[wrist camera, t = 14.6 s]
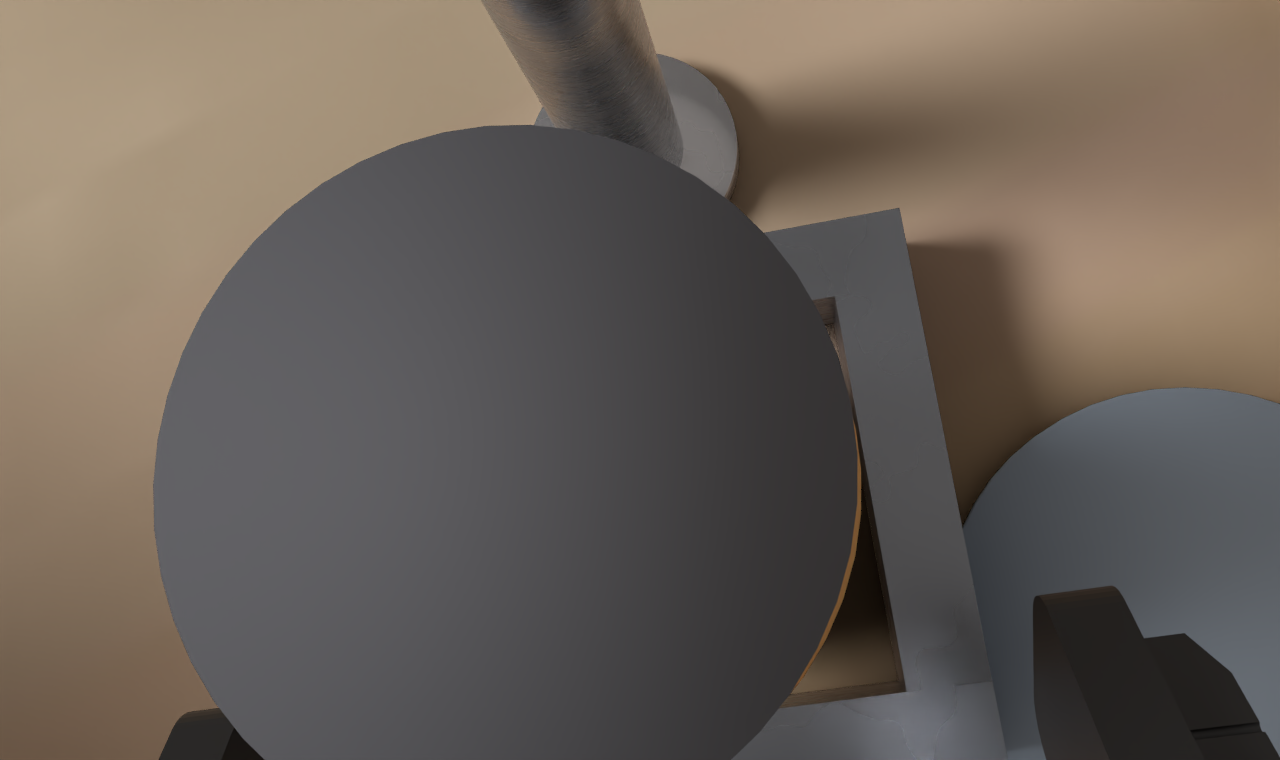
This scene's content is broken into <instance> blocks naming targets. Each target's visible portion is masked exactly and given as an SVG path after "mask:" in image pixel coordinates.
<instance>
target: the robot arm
mask: <svg viewBox="0 0 1280 760" xmlns="http://www.w3.org/2000/svg"><path fill="white" fill-rule="evenodd" d="M1033 672H1034V705H1035V713H1036V719H1037V725H1038V730H1039V734H1040V739H1041V743H1042V747H1043V750H1044V754H1045V757H1046V760H1280V757H1279V755H1278V753H1277V751H1276V750H1275V748H1274V746H1273V744H1272V742H1271V741H1270V739H1269V737H1268V735H1267V734H1266V732H1262V730H1261V727H1260V721H1259V720H1258V718H1257V716H1256V714H1255V713H1254V711H1253V709H1252V707H1251V706H1250V704H1249V702H1248V700H1247V699H1246V697H1245V695H1244V693H1243V692H1242V690H1241V688H1240V686H1239V685H1238V683H1237V681H1236V679H1235V678H1234V676H1233V674H1232V672H1230V671H1229V670H1228V669H1227V668H1226V667H1224V666H1223V665H1222V664H1221V663H1220V662H1219V661H1217V660H1216V659H1215V658H1214V657H1213V656H1211V655H1210V654H1209V653H1208V652H1207V651H1205V650H1204V649H1203V648H1202V647H1201V646H1199V645H1198V644H1197V643H1196V642H1195V641H1193V640H1192V639H1191V638H1190V637H1189V636H1187V635H1186V634H1185V633H1181V634H1173V635H1165V636H1158V637H1150V638H1144V637H1143V635H1142V633H1141V631H1140V629H1139V627H1138V625H1137V623H1136V621H1135V619H1134V617H1133V615H1132V613H1131V611H1130V609H1129V607H1128V605H1127V603H1126V601H1125V600H1124V598H1123V596H1122V594H1121V593H1120V591H1119V590H1118V589H1117V588H1116V587H1114V586H1104V587H1096V588H1089V589H1082V590H1074V591H1067V592H1059V593H1052V594H1044V595H1037V596H1035V598H1034V601H1033ZM159 760H264V759H263V758H262V757H261V756H260V755H259V754H258V753H257V752H256V751H255V750H254V749H253V748H252V747H251V746H250V745H249V744H248V743H247V742H246V741H245V740H244V739H243V738H242V737H241V735H240V734H239V733H238V732H237V730H236V729H235V728H234V726H233V725H232V724H231V723H230V721H229V720H228V719H227V717H226V716H225V715H224V714H223V712H222V711H221V710H220V708H215V709H208V710H201V711H193V712H188V713H186V714H184V715H183V716H182V717H181V718H179V720H178V721H177V722H176V724H175V726H174V727H173V729H172V731H171V734H170V736H169V738H168V740H167V742H166V745H165V747H164V749H163V751H162V754H161V756H160V758H159Z"/></svg>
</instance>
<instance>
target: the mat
mask: <svg viewBox="0 0 1280 760" xmlns="http://www.w3.org/2000/svg"><path fill="white" fill-rule="evenodd" d="M962 529H963V534H964V539H965V544H966V549H967V554H968V559H969V564H970V569H971V574H972V579H973V584H974V589H975V595H976V600H977V605H978V610H979V615H980V620H981V625H982V630H983V635H984V640H985V645H986V650H987V656H988V661H989V666H990V671H991V676H992V681H993V686H994V691H995V696H996V701H997V706H998V711H999V716H1000V722H1001V727H1002V732H1003V737H1004V742H1005V747H1006V752H1007V757H1008V760H1046V757H1045V754H1044V750H1043V747H1042V743H1041V739H1040V734H1039V730H1038V725H1037V719H1036V713H1035V705H1034V672H1033V601H1034V598H1035V596H1037V595H1044V594H1052V593H1059V592H1067V591H1074V590H1082V589H1089V588H1096V587H1104V586H1114V587H1116V588H1117V589H1118V590H1119V591H1120V593H1121V594H1122V596H1123V598H1124V600H1125V601H1126V603H1127V605H1128V607H1129V609H1130V611H1131V613H1132V615H1133V617H1134V619H1135V621H1136V623H1137V625H1138V627H1139V629H1140V631H1141V633H1142V635H1143V637H1144V638H1150V637H1158V636H1165V635H1173V634H1181V633H1185V634H1186V635H1187V636H1189V637H1190V638H1191V639H1192V640H1193V641H1195V642H1196V643H1197V644H1198V645H1199V646H1201V647H1202V648H1203V649H1204V650H1205V651H1207V652H1208V653H1209V654H1210V655H1211V656H1213V657H1214V658H1215V659H1216V660H1217V661H1219V662H1220V663H1221V664H1222V665H1223V666H1224V667H1226V668H1227V669H1228V670H1229V671H1230V672H1232V674H1233V676H1234V678H1235V679H1236V681H1237V683H1238V685H1239V686H1240V688H1241V690H1242V692H1243V693H1244V695H1245V697H1246V699H1247V700H1248V702H1249V704H1250V706H1251V707H1252V709H1253V711H1254V713H1255V714H1256V716H1257V718H1258V720H1259V721H1260V727H1261V730H1262V732H1266V734H1267V735H1268V737H1269V739H1270V741H1271V742H1272V744H1273V746H1274V748H1275V750H1276V751H1277V753H1278V755H1279V757H1280V404H1278V403H1275V402H1272V401H1268V400H1265V399H1262V398H1259V397H1255V396H1252V395H1247V394H1241V393H1236V392H1230V391H1225V390H1219V389H1204V388H1186V387H1183V388H1168V389H1152V390H1147V391H1142V392H1136V393H1131V394H1126V395H1121V396H1117V397H1114V398H1111V399H1108V400H1105V401H1102V402H1099V403H1096V404H1093V405H1090V406H1088V407H1086V408H1084V409H1082V410H1079V411H1077V412H1075V413H1073V414H1071V415H1069V416H1067V417H1065V418H1063V419H1061V420H1059V421H1058V422H1056V423H1055V424H1053V425H1052V426H1050V427H1049V428H1047V429H1046V430H1044V431H1042V432H1041V433H1039V434H1038V435H1036V436H1035V437H1033V438H1032V439H1031V440H1030V441H1028V442H1027V443H1026V444H1025V445H1024V446H1023V447H1021V448H1020V449H1019V450H1018V451H1017V452H1016V453H1014V454H1013V455H1012V456H1011V457H1010V458H1009V459H1008V460H1007V461H1006V462H1005V463H1004V464H1003V466H1002V467H1001V468H1000V469H999V470H998V471H997V472H996V473H995V475H994V476H993V477H992V478H991V479H990V480H989V482H988V483H987V485H986V486H985V488H984V489H983V491H982V492H981V494H980V495H979V497H978V498H977V500H976V501H975V503H974V504H973V506H972V508H971V510H970V513H969V515H968V517H967V519H966V521H965V523H964V525H963V527H962Z"/></svg>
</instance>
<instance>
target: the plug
mask: <svg viewBox="0 0 1280 760" xmlns="http://www.w3.org/2000/svg"><path fill="white" fill-rule="evenodd" d="M153 491H154V531H155V538H156V545H157V551H158V558H159V565H160V572H161V577H162V581H163V584H164V588H165V592H166V595H167V599H168V602H169V606H170V610H171V613H172V617H173V620H174V622H175V625H176V627H177V630H178V632H179V634H180V637H181V639H182V641H183V644H184V646H185V649H186V651H187V653H188V656H189V658H190V660H191V663H192V664H193V666H194V668H195V669H196V671H197V673H198V675H199V676H200V678H201V680H202V681H203V683H204V685H205V687H206V688H207V690H208V692H209V693H210V695H211V697H212V699H213V700H214V702H215V703H216V705H217V706H218V707H219V708H220V710H221V711H222V712H223V714H224V715H225V716H226V717H227V719H228V720H229V721H230V723H231V724H232V725H233V726H234V728H235V729H236V730H237V732H238V733H239V734H240V735H241V737H242V738H243V739H244V740H245V741H246V742H247V743H248V744H249V745H250V746H251V747H252V748H253V749H254V750H255V751H256V752H257V753H258V754H259V755H260V756H261V757H262V758H263V759H264V760H731V759H732V758H733V757H734V756H736V755H737V754H738V753H739V752H740V751H741V750H742V749H743V748H744V747H745V746H746V745H747V744H748V743H749V742H750V741H751V740H752V739H753V738H754V737H755V736H756V735H757V734H758V733H759V732H760V731H761V730H762V729H763V727H764V726H765V725H766V724H767V722H768V721H769V720H770V719H771V717H772V716H773V715H774V714H775V712H776V711H777V710H778V709H779V707H780V706H781V705H782V704H783V702H784V701H785V700H786V698H787V697H788V696H789V695H790V693H791V692H792V691H793V690H794V688H795V687H796V686H797V685H798V683H799V682H800V681H801V680H802V678H803V677H804V676H805V674H806V672H807V671H808V669H809V667H810V666H811V664H812V662H813V660H814V659H815V657H816V655H817V654H818V652H819V650H820V649H821V647H822V645H823V644H824V642H825V640H826V639H827V636H828V634H829V632H830V629H831V627H832V624H833V622H834V620H835V617H836V615H837V613H838V610H839V608H840V606H841V603H842V601H843V599H844V595H845V591H846V588H847V584H848V581H849V577H850V573H851V570H852V566H853V562H854V559H855V554H856V547H857V539H858V532H859V524H860V517H861V465H860V458H859V450H858V443H857V435H856V428H855V424H854V420H853V415H852V408H851V402H850V399H849V395H848V391H847V388H846V384H845V380H844V376H843V373H842V369H841V365H840V362H839V358H838V356H837V353H836V351H835V348H834V346H833V344H832V341H831V339H830V336H829V334H828V332H827V329H826V327H825V325H824V322H823V320H822V317H821V315H820V313H819V311H818V310H817V308H816V306H815V304H814V303H813V301H812V299H811V298H810V296H809V294H808V293H807V291H806V289H805V287H804V286H803V284H802V282H801V281H800V279H799V277H798V276H797V274H796V272H795V271H794V270H793V269H792V267H791V266H790V265H789V264H788V262H787V261H786V260H785V258H784V257H783V256H782V255H781V253H780V252H779V251H778V250H777V248H776V247H775V246H774V244H773V243H772V242H771V241H770V239H769V238H768V237H767V236H766V235H765V234H764V233H763V232H762V231H761V230H760V229H759V228H758V227H757V226H756V225H755V224H754V223H753V222H752V221H751V220H750V219H749V218H748V217H747V216H746V215H745V214H744V213H743V212H741V211H740V210H739V209H738V208H737V207H736V206H735V205H734V204H733V203H732V202H730V201H729V200H727V199H726V198H725V197H723V196H722V195H721V194H719V193H718V192H717V191H715V190H714V189H713V188H711V187H710V186H708V185H707V184H706V183H704V182H703V181H702V180H700V179H699V178H698V177H696V176H694V175H692V174H690V173H688V172H687V171H685V170H683V169H681V168H679V167H678V166H676V165H674V164H672V163H670V162H668V161H667V160H665V159H663V158H661V157H659V156H657V155H654V154H652V153H649V152H647V151H644V150H642V149H639V148H636V147H634V146H631V145H629V144H626V143H623V142H621V141H618V140H615V139H611V138H607V137H602V136H598V135H594V134H590V133H586V132H582V131H577V130H573V129H563V128H554V127H544V126H535V125H509V126H483V127H477V128H470V129H464V130H457V131H450V132H444V133H440V134H436V135H433V136H429V137H426V138H422V139H419V140H415V141H412V142H408V143H405V144H401V145H399V146H396V147H394V148H392V149H389V150H387V151H384V152H382V153H380V154H377V155H375V156H373V157H370V158H368V159H366V160H363V161H361V162H359V163H357V164H355V165H354V166H352V167H350V168H348V169H347V170H345V171H343V172H342V173H340V174H338V175H336V176H335V177H333V178H331V179H329V180H328V181H326V182H324V183H322V184H321V185H320V186H318V187H317V188H316V189H314V190H313V191H312V192H310V193H309V194H308V195H306V196H305V197H304V198H302V199H301V200H300V201H298V202H297V203H296V204H294V205H293V206H292V207H290V208H289V209H288V210H286V211H285V212H284V213H283V214H282V215H281V216H280V217H279V218H278V219H277V220H276V221H275V222H274V223H273V224H272V225H271V226H270V227H269V228H268V229H267V230H265V231H264V232H263V233H262V234H261V235H260V236H259V237H258V238H257V239H256V240H255V241H254V242H253V243H252V245H251V246H250V247H249V248H248V250H247V251H246V252H245V253H244V254H243V256H242V257H241V258H240V259H239V260H238V262H237V263H236V264H235V265H234V266H233V268H232V269H231V270H230V271H229V273H228V274H227V275H226V276H225V278H224V280H223V281H222V283H221V284H220V286H219V287H218V289H217V290H216V292H215V294H214V295H213V297H212V298H211V300H210V301H209V303H208V304H207V306H206V308H205V309H204V311H203V312H202V314H201V316H200V318H199V320H198V322H197V324H196V326H195V328H194V330H193V332H192V335H191V337H190V339H189V341H188V343H187V345H186V347H185V349H184V351H183V353H182V356H181V359H180V361H179V364H178V367H177V370H176V373H175V376H174V379H173V382H172V384H171V387H170V390H169V393H168V396H167V400H166V405H165V409H164V414H163V419H162V423H161V428H160V432H159V437H158V443H157V453H156V463H155V473H154V484H153Z"/></svg>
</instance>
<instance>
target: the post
mask: <svg viewBox="0 0 1280 760" xmlns="http://www.w3.org/2000/svg"><path fill="white" fill-rule="evenodd" d="M481 1H482V3H483V5H484V7H485V8H486V10H487V12H488V13H489V15H490V17H491V18H492V20H493V22H494V24H495V25H496V27H497V29H498V30H499V32H500V34H501V36H502V37H503V39H504V41H505V42H506V44H507V46H508V48H509V49H510V51H511V53H512V54H513V56H514V58H515V59H516V61H517V63H518V65H519V66H520V68H521V70H522V71H523V73H524V75H525V77H526V78H527V80H528V82H529V83H530V85H531V87H532V88H533V90H534V92H535V94H536V95H537V97H538V99H539V100H540V102H541V104H542V106H543V108H542V109H541V111H540V113H539V115H538V117H537V119H536V122H535V124H534V125H535V126H544V127H554V128H563V129H573V130H577V131H582V132H586V133H590V134H594V135H598V136H602V137H607V138H611V139H615V140H618V141H621V142H623V143H626V144H629V145H631V146H634V147H636V148H639V149H642V150H644V151H647V152H649V153H652V154H654V155H657V156H659V157H661V158H663V159H665V160H667V161H668V162H670V163H672V164H674V165H676V166H678V167H679V168H681V169H683V170H685V171H687V172H688V173H690V174H692V175H694V176H696V177H698V178H699V179H700V180H702V181H703V182H704V183H706V184H707V185H708V186H710V187H711V188H713V189H714V190H715V191H717V192H718V193H719V194H721V195H722V196H723V197H725V198H726V199H727V200H729V201H730V199H731V196H732V194H733V191H734V188H735V185H736V181H737V176H738V170H739V146H738V141H737V135H736V130H735V126H734V121H733V118H732V115H731V112H730V110H729V108H728V106H727V104H726V102H725V100H724V98H723V96H722V95H721V94H720V92H719V91H718V90H717V88H716V87H715V86H714V85H713V84H712V83H711V82H710V81H709V80H708V78H707V77H705V76H704V75H703V74H701V73H700V72H699V71H698V70H696V69H695V68H693V67H691V66H690V65H688V64H686V63H684V62H682V61H679V60H677V59H674V58H672V57H668V56H664V55H661V54H656V51H655V48H654V45H653V42H652V39H651V35H650V32H649V29H648V26H647V23H646V19H645V16H644V13H643V10H642V7H641V3H640V0H481Z"/></svg>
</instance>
